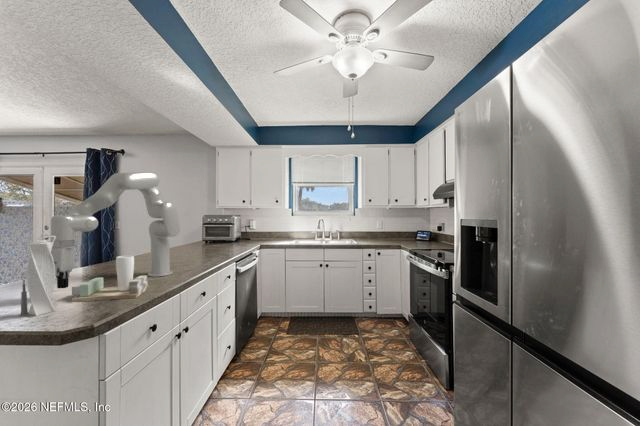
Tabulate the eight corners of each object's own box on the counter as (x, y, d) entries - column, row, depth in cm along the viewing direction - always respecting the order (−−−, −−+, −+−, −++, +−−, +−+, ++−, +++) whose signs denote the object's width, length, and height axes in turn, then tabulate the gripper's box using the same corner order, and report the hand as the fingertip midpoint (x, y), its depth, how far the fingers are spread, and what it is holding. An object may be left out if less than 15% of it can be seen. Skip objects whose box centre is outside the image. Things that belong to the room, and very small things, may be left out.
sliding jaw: (85, 288, 130) (85, 278, 130) (103, 287, 131) (103, 277, 131) (68, 297, 117) (68, 285, 117) (88, 295, 119) (88, 284, 119)
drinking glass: (137, 289, 130) (137, 256, 129) (120, 292, 124) (120, 258, 124) (129, 287, 133) (129, 254, 133) (113, 290, 127) (113, 256, 127)
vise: (92, 291, 132) (92, 277, 131) (148, 288, 137) (148, 274, 137) (71, 302, 116) (71, 286, 116) (136, 297, 122) (135, 282, 122)
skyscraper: (48, 308, 110) (48, 235, 110) (61, 310, 107) (61, 235, 107) (19, 315, 102) (18, 237, 102) (32, 318, 99) (31, 237, 99)
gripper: (63, 242, 128) (63, 284, 128) (39, 246, 114) (39, 293, 114) (83, 242, 130) (82, 283, 130) (62, 246, 116) (62, 291, 115)
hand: (62, 287), depth 122 cm, fingers closed
